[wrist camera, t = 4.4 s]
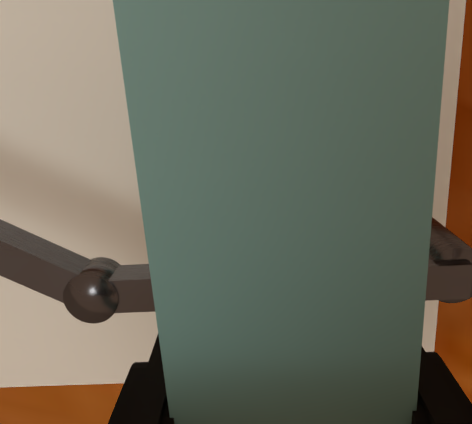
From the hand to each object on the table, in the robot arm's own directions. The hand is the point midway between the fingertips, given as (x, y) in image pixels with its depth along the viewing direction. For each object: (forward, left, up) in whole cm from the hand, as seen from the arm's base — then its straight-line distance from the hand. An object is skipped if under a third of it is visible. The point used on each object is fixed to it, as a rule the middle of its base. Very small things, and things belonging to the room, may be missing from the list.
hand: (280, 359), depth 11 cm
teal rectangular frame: (0, 0, -12) cm, 12 cm away
